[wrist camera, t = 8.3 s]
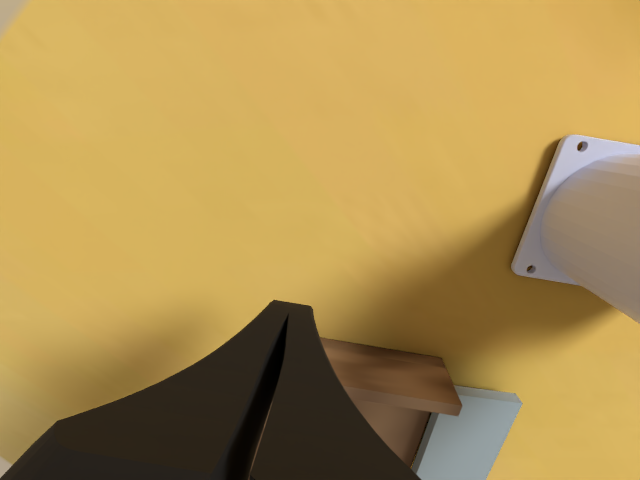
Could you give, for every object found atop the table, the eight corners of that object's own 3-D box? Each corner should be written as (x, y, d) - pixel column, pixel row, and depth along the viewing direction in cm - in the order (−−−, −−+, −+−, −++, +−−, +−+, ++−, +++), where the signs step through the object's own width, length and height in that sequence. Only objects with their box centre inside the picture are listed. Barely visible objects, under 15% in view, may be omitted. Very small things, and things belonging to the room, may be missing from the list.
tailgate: (442, 383, 21) (515, 393, 21) (408, 476, 24) (473, 483, 24) (446, 393, 20) (522, 403, 21) (411, 487, 23) (478, 495, 24)
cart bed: (441, 358, 22) (462, 405, 18) (402, 470, 26) (413, 529, 22) (267, 328, 22) (252, 370, 18) (252, 445, 26) (238, 500, 22)
